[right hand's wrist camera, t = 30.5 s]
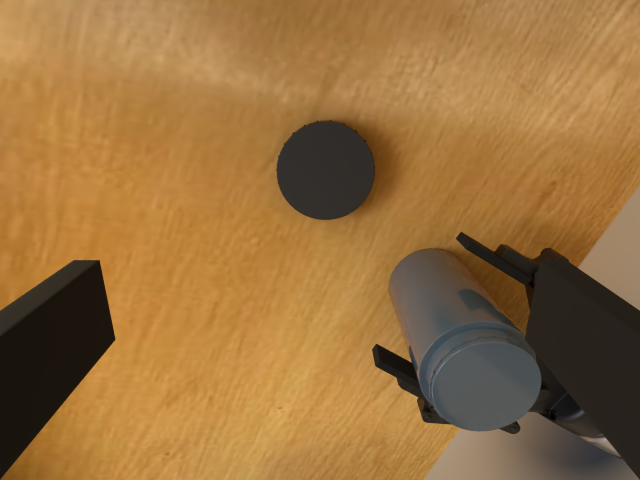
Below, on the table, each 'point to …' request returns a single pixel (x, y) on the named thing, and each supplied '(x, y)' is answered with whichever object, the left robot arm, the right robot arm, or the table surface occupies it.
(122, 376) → the table surface
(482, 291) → the jar
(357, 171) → the lid
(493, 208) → the table surface
